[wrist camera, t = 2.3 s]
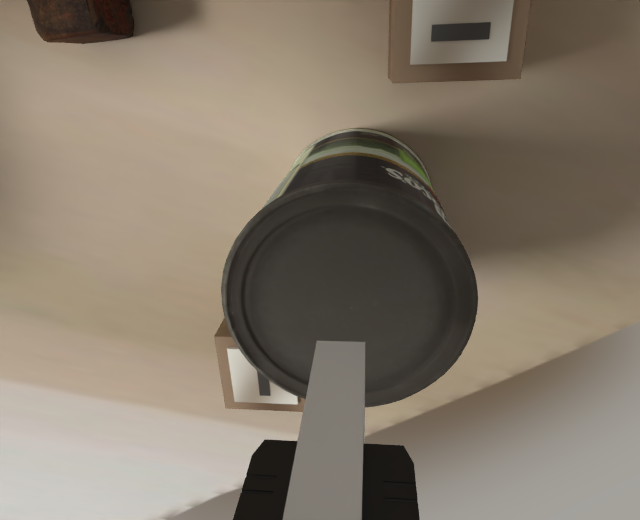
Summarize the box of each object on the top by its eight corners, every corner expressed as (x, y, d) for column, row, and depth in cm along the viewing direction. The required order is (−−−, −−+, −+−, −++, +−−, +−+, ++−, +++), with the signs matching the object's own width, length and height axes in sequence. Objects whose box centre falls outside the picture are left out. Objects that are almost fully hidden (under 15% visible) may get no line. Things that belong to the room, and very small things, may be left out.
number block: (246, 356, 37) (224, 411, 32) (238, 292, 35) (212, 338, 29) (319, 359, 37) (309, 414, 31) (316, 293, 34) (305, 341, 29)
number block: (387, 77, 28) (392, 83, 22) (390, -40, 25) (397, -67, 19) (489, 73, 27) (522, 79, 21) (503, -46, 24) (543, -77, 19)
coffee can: (385, 94, 28) (399, 127, 15) (458, 230, 31) (521, 354, 18) (252, 178, 31) (168, 265, 18) (330, 294, 34) (307, 439, 21)
